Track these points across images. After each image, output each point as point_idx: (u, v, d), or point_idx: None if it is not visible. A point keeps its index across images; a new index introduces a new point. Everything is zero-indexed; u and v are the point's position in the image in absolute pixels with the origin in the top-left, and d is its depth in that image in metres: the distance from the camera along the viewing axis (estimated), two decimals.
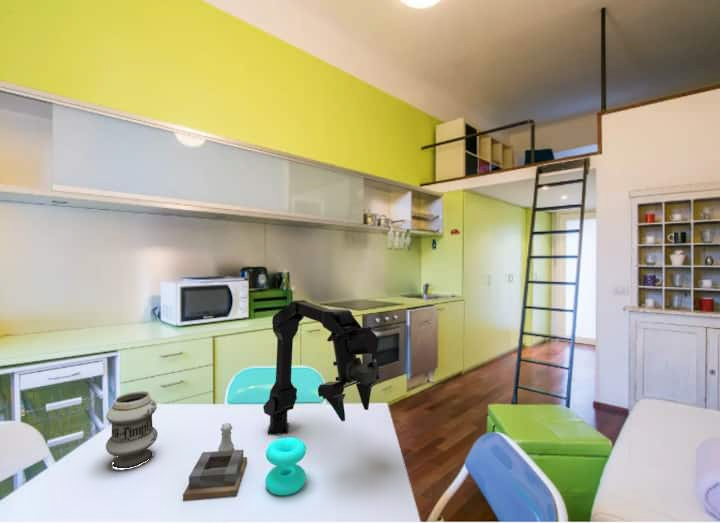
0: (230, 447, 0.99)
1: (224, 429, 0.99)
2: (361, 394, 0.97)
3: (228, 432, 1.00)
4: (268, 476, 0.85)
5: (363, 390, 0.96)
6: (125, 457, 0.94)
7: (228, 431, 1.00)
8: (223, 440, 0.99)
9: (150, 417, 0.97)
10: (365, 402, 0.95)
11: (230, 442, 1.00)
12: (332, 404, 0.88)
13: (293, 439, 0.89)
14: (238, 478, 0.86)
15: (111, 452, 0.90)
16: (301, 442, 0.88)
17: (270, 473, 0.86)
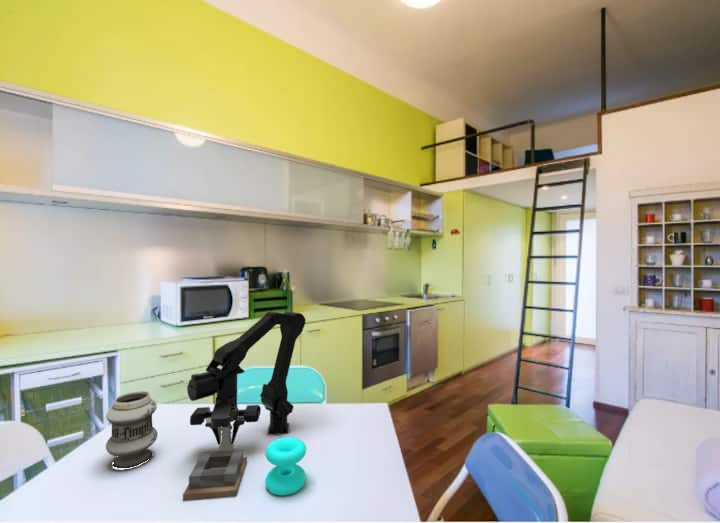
0: (230, 447, 0.99)
1: (224, 429, 0.99)
2: None
3: (228, 432, 1.00)
4: (268, 476, 0.85)
5: None
6: (125, 457, 0.94)
7: (228, 431, 1.00)
8: (223, 440, 0.99)
9: (150, 417, 0.97)
10: (232, 436, 1.01)
11: (230, 442, 1.00)
12: None
13: (293, 439, 0.89)
14: (238, 478, 0.86)
15: (111, 452, 0.90)
16: (301, 442, 0.88)
17: (270, 473, 0.86)
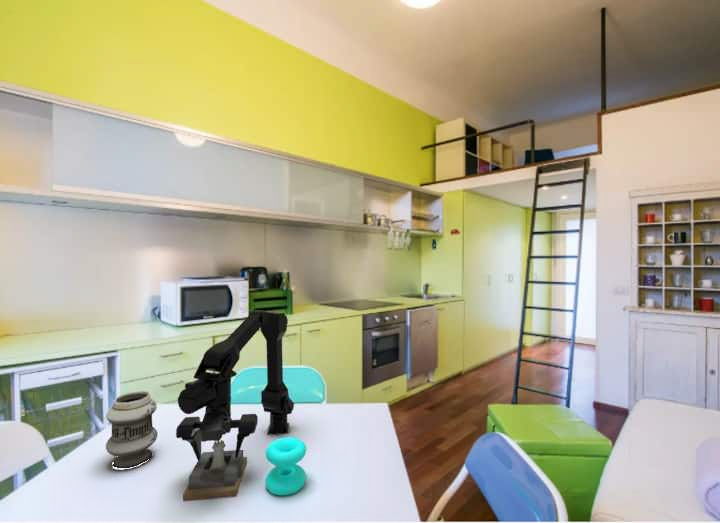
0: None
1: (216, 447, 0.86)
2: None
3: (220, 451, 0.87)
4: (268, 476, 0.85)
5: None
6: (125, 457, 0.94)
7: (220, 450, 0.87)
8: (215, 460, 0.87)
9: (150, 417, 0.97)
10: (236, 450, 0.88)
11: (223, 462, 0.87)
12: None
13: (293, 439, 0.89)
14: (238, 478, 0.86)
15: (111, 452, 0.90)
16: (301, 442, 0.88)
17: (270, 473, 0.86)
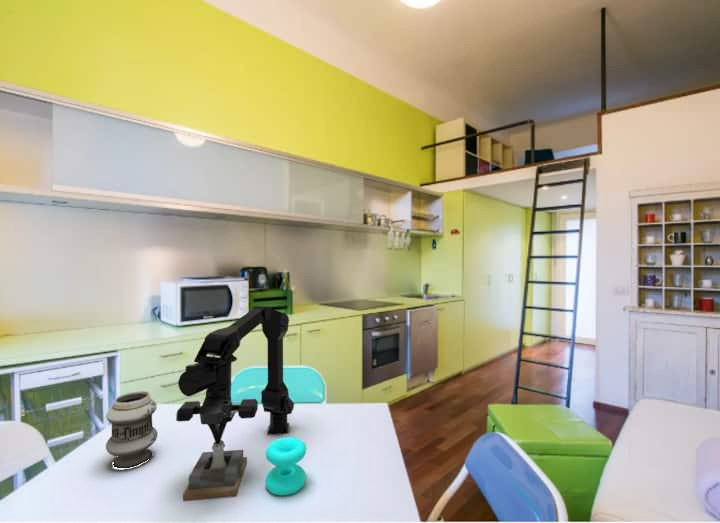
0: None
1: (215, 448, 0.86)
2: None
3: (220, 451, 0.87)
4: (268, 476, 0.85)
5: None
6: (125, 457, 0.94)
7: (220, 450, 0.87)
8: (214, 460, 0.87)
9: (150, 417, 0.97)
10: None
11: (223, 462, 0.87)
12: None
13: (293, 439, 0.89)
14: (238, 478, 0.86)
15: (111, 452, 0.90)
16: (301, 442, 0.88)
17: (270, 473, 0.86)
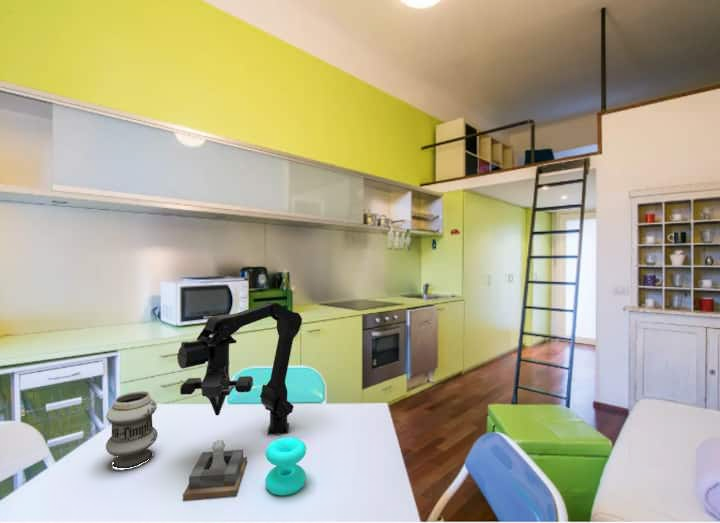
0: None
1: (215, 448, 0.86)
2: None
3: (220, 451, 0.87)
4: (268, 476, 0.85)
5: None
6: (125, 457, 0.94)
7: (220, 450, 0.87)
8: (214, 460, 0.87)
9: (150, 417, 0.97)
10: None
11: (223, 462, 0.87)
12: None
13: (293, 439, 0.89)
14: (238, 478, 0.86)
15: (111, 452, 0.90)
16: (301, 442, 0.88)
17: (270, 473, 0.86)
